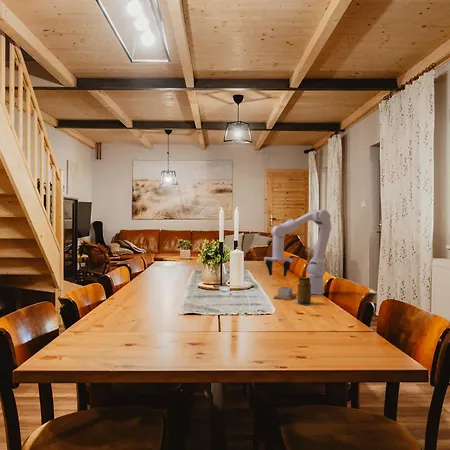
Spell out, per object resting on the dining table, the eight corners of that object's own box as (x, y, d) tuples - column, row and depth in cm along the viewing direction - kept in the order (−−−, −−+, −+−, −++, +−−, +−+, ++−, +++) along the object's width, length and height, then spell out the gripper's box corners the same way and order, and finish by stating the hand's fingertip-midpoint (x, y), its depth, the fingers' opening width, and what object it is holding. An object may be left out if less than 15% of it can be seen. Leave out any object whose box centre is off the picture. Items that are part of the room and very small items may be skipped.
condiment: (303, 301, 216) (303, 276, 216) (317, 304, 210) (317, 278, 209) (293, 303, 211) (293, 277, 211) (307, 306, 205) (307, 279, 205)
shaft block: (280, 295, 230) (280, 286, 230) (295, 297, 227) (295, 288, 227) (274, 298, 221) (274, 289, 221) (289, 300, 218) (289, 291, 218)
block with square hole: (281, 294, 228) (281, 286, 228) (292, 295, 225) (292, 287, 225) (278, 296, 223) (278, 288, 223) (288, 297, 221) (288, 289, 220)
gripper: (262, 249, 231) (261, 275, 231) (289, 250, 225) (289, 277, 225) (266, 248, 237) (266, 274, 238) (293, 249, 231) (293, 276, 232)
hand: (277, 275), depth 232 cm, fingers open, 7 cm apart
